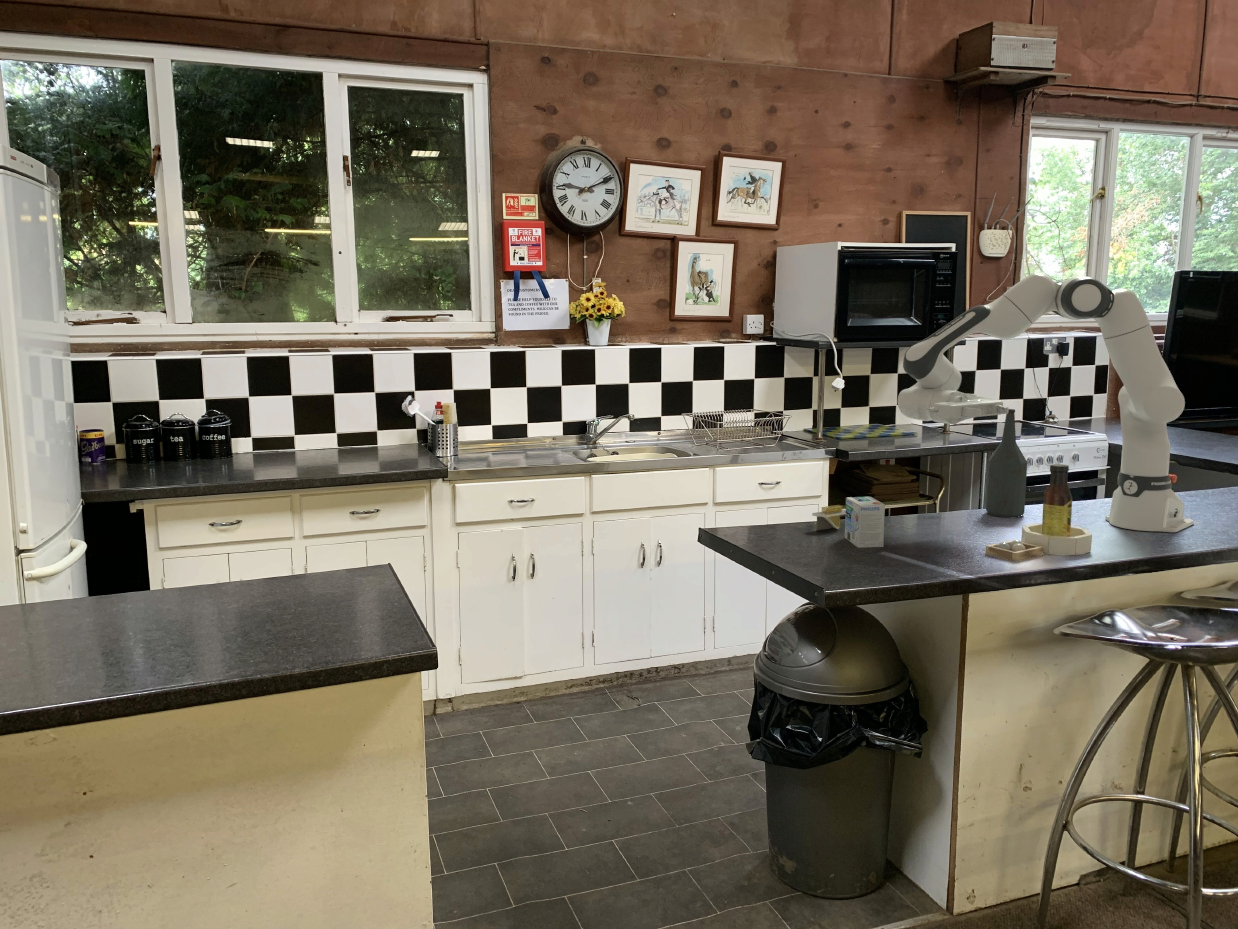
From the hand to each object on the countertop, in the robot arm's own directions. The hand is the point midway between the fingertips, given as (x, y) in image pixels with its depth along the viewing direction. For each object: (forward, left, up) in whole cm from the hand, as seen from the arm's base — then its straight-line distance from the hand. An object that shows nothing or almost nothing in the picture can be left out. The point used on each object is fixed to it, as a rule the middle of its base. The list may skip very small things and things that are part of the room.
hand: (994, 411), depth 236 cm
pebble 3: (+14, +19, -31) cm, 39 cm away
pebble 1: (+16, +17, -31) cm, 39 cm away
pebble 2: (+12, +17, -31) cm, 37 cm away
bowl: (0, +19, -32) cm, 37 cm away
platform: (+29, -27, -33) cm, 51 cm away
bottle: (-25, -14, -32) cm, 43 cm away
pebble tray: (+14, +18, -32) cm, 39 cm away
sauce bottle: (0, +19, -31) cm, 36 cm away
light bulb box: (+32, -12, -32) cm, 47 cm away
